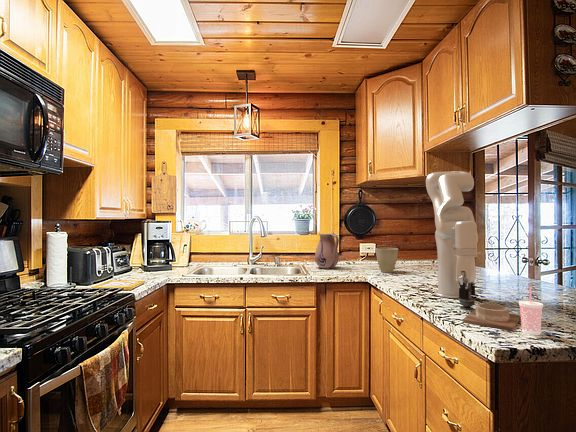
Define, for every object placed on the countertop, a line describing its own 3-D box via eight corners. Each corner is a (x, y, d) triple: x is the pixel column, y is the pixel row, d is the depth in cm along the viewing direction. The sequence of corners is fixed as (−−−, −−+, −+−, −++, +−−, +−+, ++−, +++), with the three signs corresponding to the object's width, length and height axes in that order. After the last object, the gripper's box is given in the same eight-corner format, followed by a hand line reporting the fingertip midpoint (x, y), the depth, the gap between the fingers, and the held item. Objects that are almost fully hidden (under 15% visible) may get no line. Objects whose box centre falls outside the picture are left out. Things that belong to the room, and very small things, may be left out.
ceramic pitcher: (325, 265, 259) (325, 233, 259) (347, 268, 243) (347, 234, 244) (309, 268, 247) (309, 234, 248) (332, 271, 232) (331, 234, 232)
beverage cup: (514, 329, 105) (513, 284, 105) (532, 328, 105) (531, 284, 106) (530, 336, 99) (529, 288, 99) (549, 335, 99) (548, 288, 100)
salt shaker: (470, 306, 133) (469, 276, 133) (479, 310, 127) (478, 279, 128) (455, 306, 133) (455, 276, 133) (463, 310, 127) (463, 279, 127)
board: (475, 311, 126) (475, 299, 126) (520, 318, 117) (520, 305, 117) (462, 322, 113) (462, 308, 113) (512, 331, 104) (512, 316, 104)
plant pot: (377, 273, 218) (377, 249, 219) (374, 270, 233) (373, 247, 233) (400, 274, 217) (400, 249, 217) (396, 270, 231) (395, 247, 232)
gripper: (461, 251, 139) (462, 292, 139) (449, 253, 126) (450, 299, 126) (482, 252, 134) (483, 295, 134) (471, 254, 121) (472, 302, 121)
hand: (467, 297), depth 130 cm, fingers open, 9 cm apart
